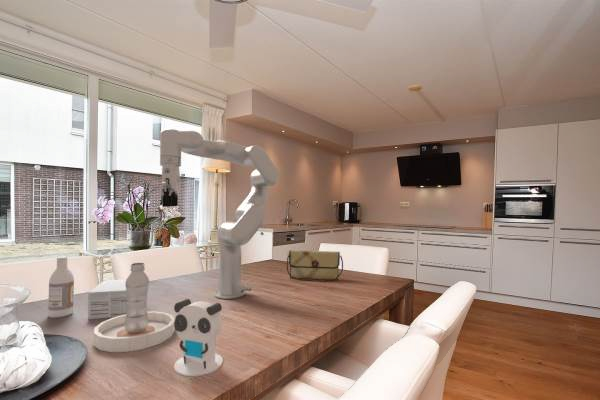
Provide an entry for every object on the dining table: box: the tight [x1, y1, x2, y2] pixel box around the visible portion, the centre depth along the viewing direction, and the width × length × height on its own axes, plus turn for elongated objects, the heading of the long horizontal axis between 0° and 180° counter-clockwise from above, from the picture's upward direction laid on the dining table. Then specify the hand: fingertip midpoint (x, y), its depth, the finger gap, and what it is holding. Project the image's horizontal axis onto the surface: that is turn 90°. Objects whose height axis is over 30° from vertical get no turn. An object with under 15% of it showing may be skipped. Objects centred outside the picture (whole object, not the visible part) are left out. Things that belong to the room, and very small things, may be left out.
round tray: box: [93, 311, 176, 353], centre depth 94 cm, size 21×21×4 cm
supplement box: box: [87, 278, 127, 320], centre depth 117 cm, size 17×13×9 cm
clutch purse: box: [286, 249, 344, 283], centre depth 167 cm, size 30×7×15 cm, turn 85°
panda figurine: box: [173, 298, 223, 377], centre depth 78 cm, size 12×11×15 cm
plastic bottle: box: [124, 262, 150, 333], centre depth 94 cm, size 6×7×20 cm
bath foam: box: [47, 256, 75, 319], centre depth 111 cm, size 7×7×20 cm
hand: (170, 206), depth 122 cm, fingers open, 9 cm apart
